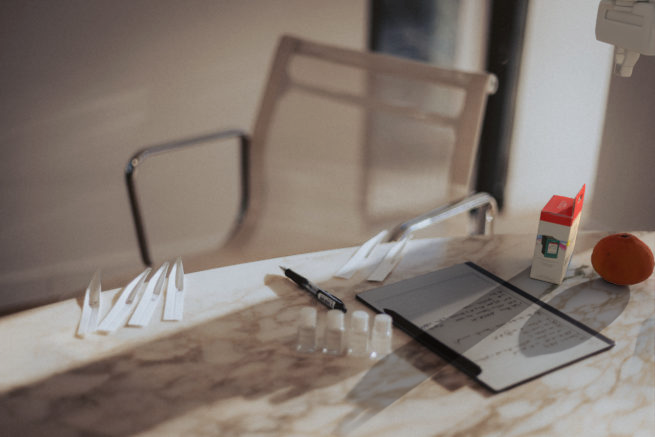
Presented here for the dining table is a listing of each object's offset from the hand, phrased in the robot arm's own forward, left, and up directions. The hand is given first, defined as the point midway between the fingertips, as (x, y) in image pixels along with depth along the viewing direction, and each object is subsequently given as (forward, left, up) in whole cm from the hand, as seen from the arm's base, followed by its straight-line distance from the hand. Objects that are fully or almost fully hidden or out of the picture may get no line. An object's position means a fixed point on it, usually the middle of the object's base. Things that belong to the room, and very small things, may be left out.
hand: (621, 75), depth 106 cm
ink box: (+13, +17, -29) cm, 36 cm away
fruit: (+3, +20, -29) cm, 35 cm away
